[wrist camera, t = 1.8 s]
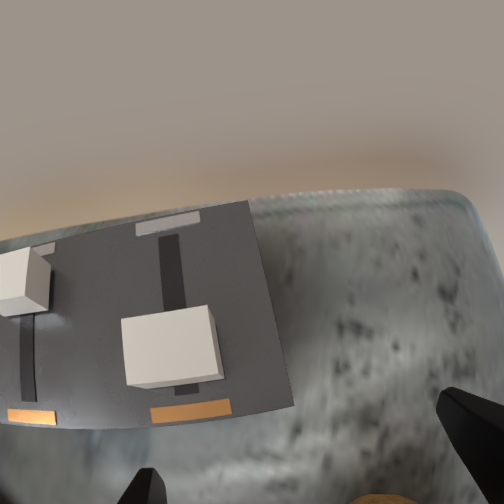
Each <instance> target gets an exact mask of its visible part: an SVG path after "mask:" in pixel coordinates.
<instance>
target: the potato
mask: <svg viewBox="0 0 504 504" xmlns="http://www.w3.org/2000/svg"><path fill="white" fill-rule="evenodd" d="M348 504H418V503H417V502H415V501H412V500H410V499H408V498H405V497H403V496H400V495H398V494H368V495H363V496H360V497H358V498H357V499H355V500H353V501H352V502H350V503H348Z"/></svg>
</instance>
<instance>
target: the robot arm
mask: <svg viewBox="0 0 504 504" xmlns="http://www.w3.org/2000/svg"><path fill="white" fill-rule="evenodd" d="M436 413H437V415H438V417H439V419H440V421H441V423H442V425H443V427H444V429H445V431H446V433H447V435H448V437H449V439H450V441H451V443H452V445H453V447H454V449H455V450H456V452H457V453H458V455H459V456H460V458H461V460H462V461H463V463H464V464H465V466H466V467H467V469H468V471H469V472H470V474H471V475H472V477H473V479H474V480H475V482H476V483H477V485H478V487H479V488H480V490H481V491H482V493H483V495H484V496H485V498H486V500H487V501H488V503H489V504H504V406H503V405H501V404H498V403H495V402H492V401H490V400H487V399H484V398H481V397H479V396H476V395H473V394H471V393H468V392H465V391H463V390H460V389H457V388H455V387H448V388H446V389H444V390H442V391H441V392H440V395H439V399H438V402H437V406H436ZM117 504H167V497H166V489H165V484H164V481H163V480H162V478H161V477H160V475H159V474H158V473H157V471H156V470H155V469H154V468H141V469H140V470H139V471H138V472H137V474H136V475H135V477H134V479H133V480H132V482H131V483H130V485H129V486H128V488H127V489H126V491H125V492H124V494H123V495H122V497H121V498H120V500H119V501H118V503H117Z"/></svg>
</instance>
